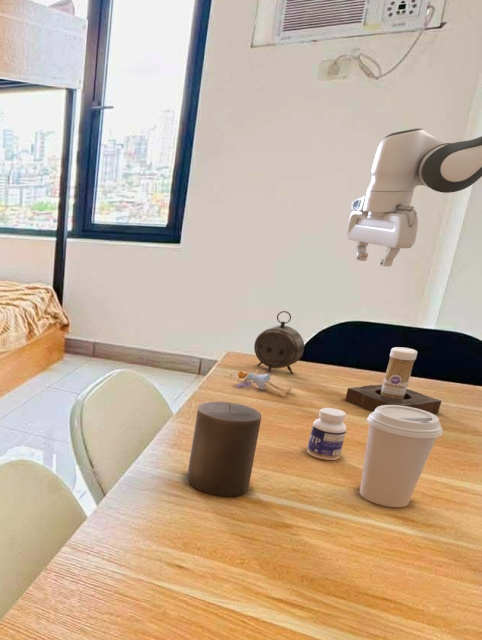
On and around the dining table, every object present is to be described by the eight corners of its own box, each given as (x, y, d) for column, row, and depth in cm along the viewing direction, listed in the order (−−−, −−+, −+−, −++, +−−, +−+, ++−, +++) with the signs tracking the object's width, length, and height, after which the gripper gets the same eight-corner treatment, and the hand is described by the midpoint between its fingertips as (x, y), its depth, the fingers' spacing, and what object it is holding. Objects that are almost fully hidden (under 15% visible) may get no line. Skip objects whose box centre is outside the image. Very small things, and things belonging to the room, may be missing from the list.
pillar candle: (238, 503, 103) (254, 419, 98) (178, 484, 109) (190, 404, 104) (255, 482, 110) (271, 402, 105) (197, 465, 116) (209, 389, 111)
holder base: (387, 394, 149) (390, 383, 148) (440, 413, 137) (444, 401, 136) (342, 399, 146) (345, 387, 145) (393, 419, 135) (396, 406, 134)
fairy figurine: (281, 387, 145) (230, 369, 153) (275, 405, 147) (224, 387, 155) (301, 376, 152) (251, 360, 160) (294, 394, 154) (245, 377, 162)
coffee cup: (357, 506, 101) (379, 420, 96) (342, 480, 110) (362, 400, 105) (429, 516, 98) (457, 428, 93) (408, 489, 106) (432, 406, 101)
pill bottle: (302, 447, 122) (311, 405, 119) (332, 449, 121) (342, 407, 118) (313, 459, 117) (323, 415, 114) (344, 461, 116) (355, 417, 113)
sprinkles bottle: (378, 407, 141) (393, 350, 137) (375, 401, 145) (390, 345, 140) (403, 411, 139) (419, 353, 134) (400, 404, 143) (415, 348, 138)
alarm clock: (299, 373, 165) (312, 313, 159) (289, 377, 162) (302, 316, 156) (257, 364, 173) (268, 306, 168) (247, 367, 170) (257, 309, 165)
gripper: (432, 206, 137) (416, 269, 142) (374, 201, 157) (361, 257, 161) (402, 206, 138) (387, 269, 143) (347, 201, 157) (335, 257, 162)
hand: (373, 263), depth 152 cm, fingers open, 8 cm apart
